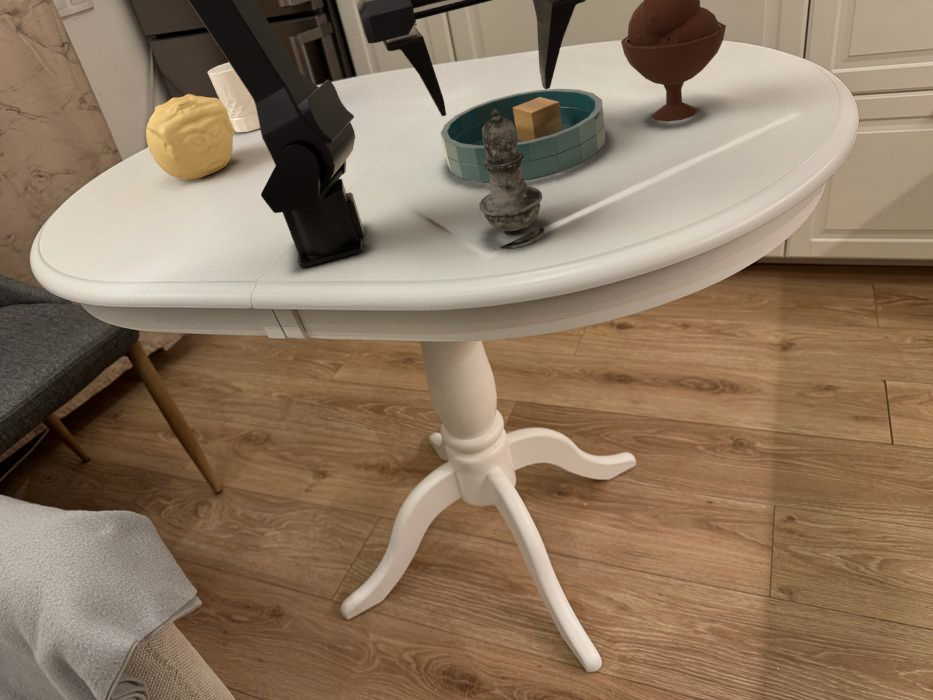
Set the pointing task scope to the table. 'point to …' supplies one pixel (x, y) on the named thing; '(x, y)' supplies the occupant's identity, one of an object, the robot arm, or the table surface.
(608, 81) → the table surface
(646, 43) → the ice cream bowl
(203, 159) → the sculpture
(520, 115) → the block
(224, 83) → the white cup
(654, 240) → the table surface
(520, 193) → the salt shaker
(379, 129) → the table surface
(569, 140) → the bowl
